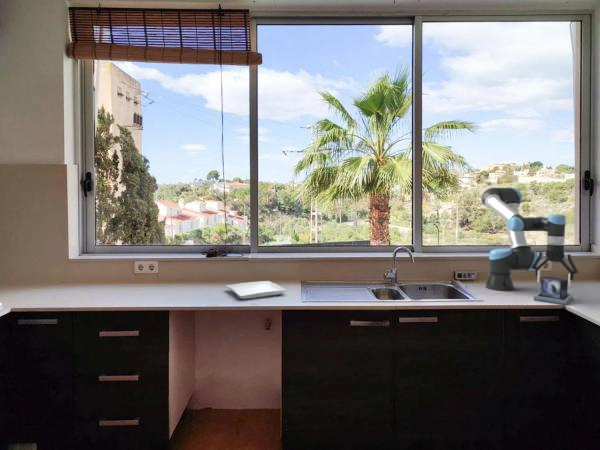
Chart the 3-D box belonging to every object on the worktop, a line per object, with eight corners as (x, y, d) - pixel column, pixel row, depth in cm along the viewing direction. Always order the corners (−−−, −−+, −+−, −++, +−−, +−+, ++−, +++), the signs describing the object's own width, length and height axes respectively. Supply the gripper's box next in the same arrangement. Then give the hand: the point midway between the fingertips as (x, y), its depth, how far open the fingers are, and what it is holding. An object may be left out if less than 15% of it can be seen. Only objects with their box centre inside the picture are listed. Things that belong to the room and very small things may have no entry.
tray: (533, 300, 198) (533, 295, 198) (542, 294, 211) (542, 290, 211) (566, 305, 189) (566, 300, 188) (572, 298, 201) (572, 294, 201)
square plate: (225, 291, 223) (225, 284, 223) (268, 286, 236) (268, 280, 235) (240, 302, 199) (240, 294, 199) (287, 295, 212) (287, 289, 211)
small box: (539, 296, 203) (540, 276, 203) (547, 295, 206) (548, 275, 205) (559, 300, 194) (560, 280, 193) (567, 299, 196) (568, 279, 196)
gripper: (526, 242, 204) (524, 281, 206) (583, 247, 187) (581, 289, 188) (530, 241, 209) (528, 279, 211) (586, 245, 192) (584, 286, 194)
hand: (553, 284), depth 200 cm, fingers open, 13 cm apart
